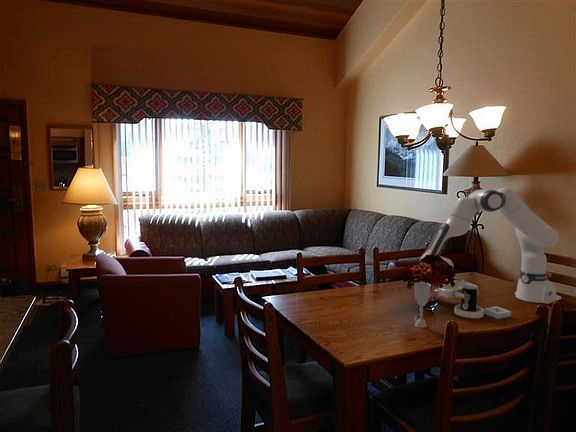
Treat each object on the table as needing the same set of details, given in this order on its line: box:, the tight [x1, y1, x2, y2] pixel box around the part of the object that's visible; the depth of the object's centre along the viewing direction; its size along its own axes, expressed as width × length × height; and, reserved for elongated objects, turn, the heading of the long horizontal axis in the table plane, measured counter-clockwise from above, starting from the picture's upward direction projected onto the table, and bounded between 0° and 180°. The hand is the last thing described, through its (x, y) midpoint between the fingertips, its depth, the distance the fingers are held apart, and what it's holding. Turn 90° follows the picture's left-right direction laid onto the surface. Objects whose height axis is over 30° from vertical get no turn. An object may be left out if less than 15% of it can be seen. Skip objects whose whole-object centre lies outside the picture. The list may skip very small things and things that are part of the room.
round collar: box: [453, 303, 485, 319], centre depth 204 cm, size 12×12×2 cm
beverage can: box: [460, 285, 478, 312], centre depth 204 cm, size 7×7×12 cm
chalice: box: [413, 281, 431, 328], centre depth 188 cm, size 7×7×18 cm
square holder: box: [483, 305, 512, 320], centre depth 202 cm, size 8×8×2 cm
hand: (471, 295), depth 202 cm, fingers closed on beverage can, 7 cm apart
